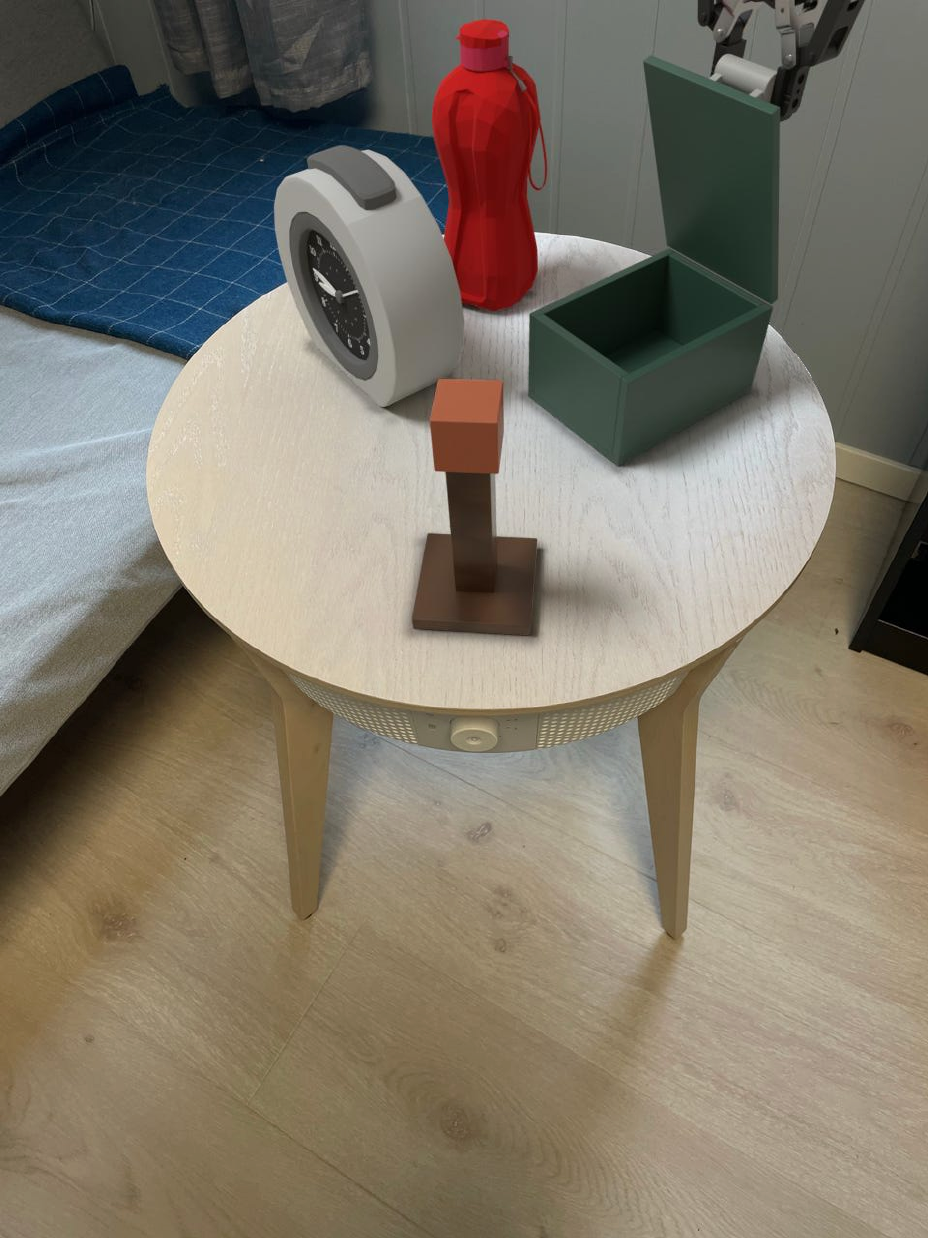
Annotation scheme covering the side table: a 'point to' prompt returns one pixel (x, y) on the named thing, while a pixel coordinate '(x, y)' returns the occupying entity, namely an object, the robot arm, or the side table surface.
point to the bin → (645, 353)
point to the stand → (475, 567)
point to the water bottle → (488, 167)
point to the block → (467, 426)
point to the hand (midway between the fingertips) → (750, 106)
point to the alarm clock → (370, 272)
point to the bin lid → (719, 167)
